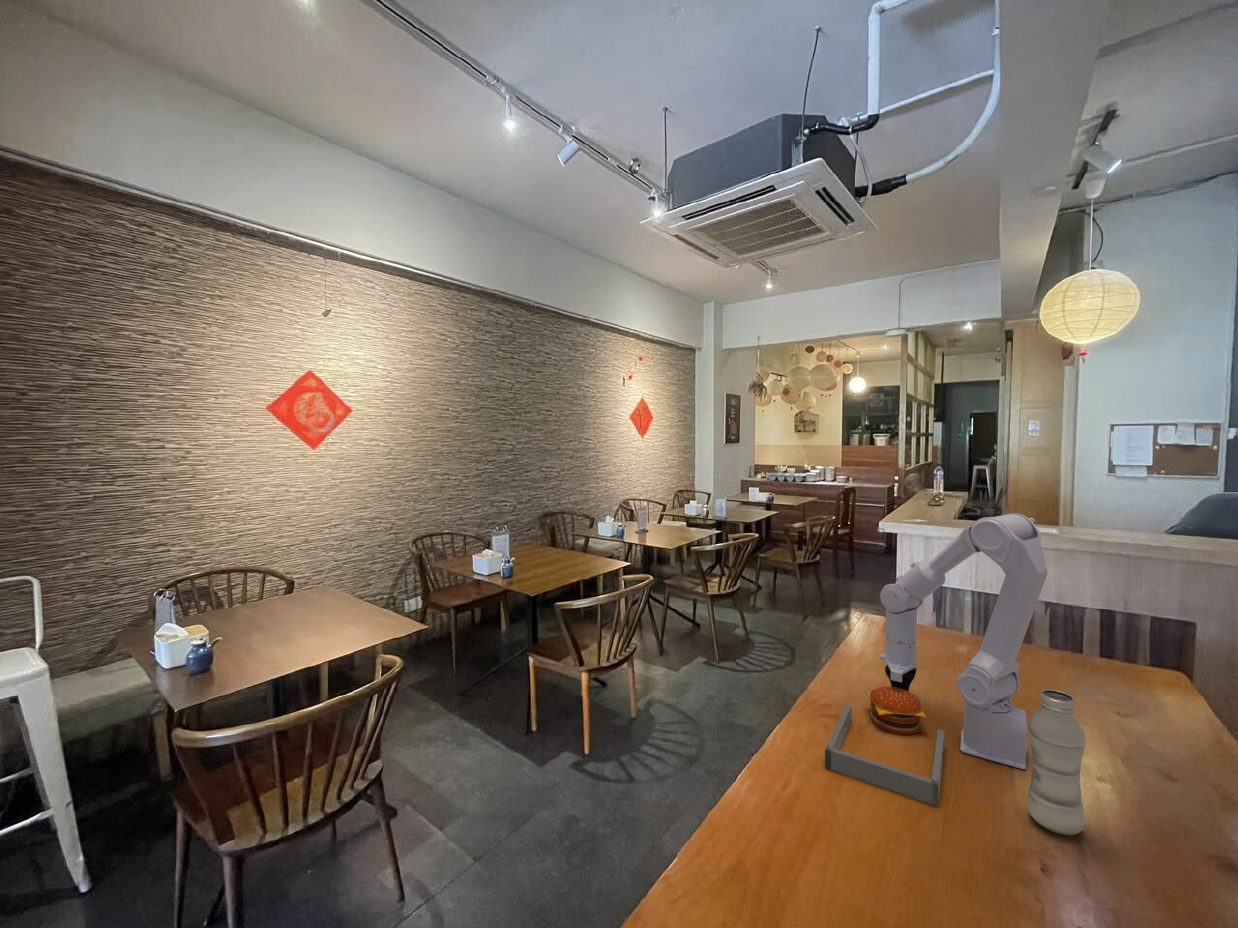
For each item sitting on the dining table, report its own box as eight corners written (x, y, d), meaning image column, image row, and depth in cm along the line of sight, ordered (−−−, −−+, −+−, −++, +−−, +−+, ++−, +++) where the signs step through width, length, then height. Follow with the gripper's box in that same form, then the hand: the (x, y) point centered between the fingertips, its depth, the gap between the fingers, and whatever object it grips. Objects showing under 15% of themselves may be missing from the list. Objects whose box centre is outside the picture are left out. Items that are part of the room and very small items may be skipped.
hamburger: (862, 709, 109) (862, 679, 108) (910, 712, 107) (911, 681, 107) (878, 734, 100) (878, 701, 99) (931, 738, 98) (931, 704, 98)
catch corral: (944, 748, 95) (944, 730, 95) (938, 806, 80) (938, 785, 80) (846, 720, 105) (846, 703, 104) (825, 767, 90) (825, 748, 90)
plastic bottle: (1096, 845, 72) (1100, 709, 71) (1041, 839, 73) (1045, 704, 72) (1066, 812, 78) (1069, 686, 77) (1016, 807, 80) (1019, 683, 79)
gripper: (885, 624, 117) (884, 681, 117) (874, 646, 105) (874, 710, 106) (920, 630, 112) (920, 690, 113) (913, 654, 101) (913, 720, 101)
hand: (900, 700), depth 109 cm, fingers closed
